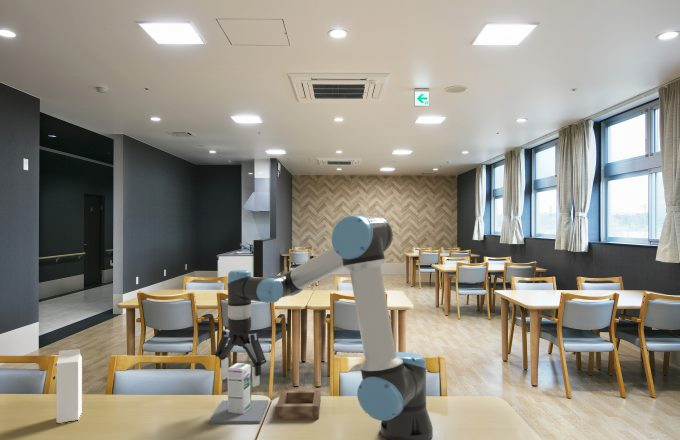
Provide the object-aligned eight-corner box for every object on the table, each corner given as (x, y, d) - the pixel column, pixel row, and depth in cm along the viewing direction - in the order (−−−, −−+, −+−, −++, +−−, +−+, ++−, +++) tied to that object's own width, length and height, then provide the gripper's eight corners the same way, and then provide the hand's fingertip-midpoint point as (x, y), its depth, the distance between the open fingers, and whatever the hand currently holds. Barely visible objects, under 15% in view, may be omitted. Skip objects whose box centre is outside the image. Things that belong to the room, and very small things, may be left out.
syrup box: (243, 414, 140) (243, 369, 140) (227, 412, 141) (226, 367, 141) (251, 407, 145) (251, 363, 145) (235, 405, 147) (235, 362, 147)
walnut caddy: (320, 401, 151) (320, 390, 151) (318, 418, 138) (318, 406, 138) (281, 402, 151) (281, 390, 151) (276, 419, 138) (276, 406, 138)
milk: (61, 416, 141) (60, 348, 142) (82, 413, 143) (82, 346, 144) (56, 424, 136) (56, 353, 136) (78, 421, 138) (78, 351, 138)
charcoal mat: (268, 402, 151) (268, 400, 151) (260, 423, 135) (260, 420, 135) (222, 402, 151) (222, 400, 151) (208, 423, 135) (208, 421, 135)
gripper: (276, 318, 141) (277, 384, 140) (220, 311, 153) (220, 372, 153) (261, 323, 134) (261, 392, 134) (204, 315, 146) (204, 379, 146)
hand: (240, 382), depth 143 cm, fingers open, 13 cm apart
